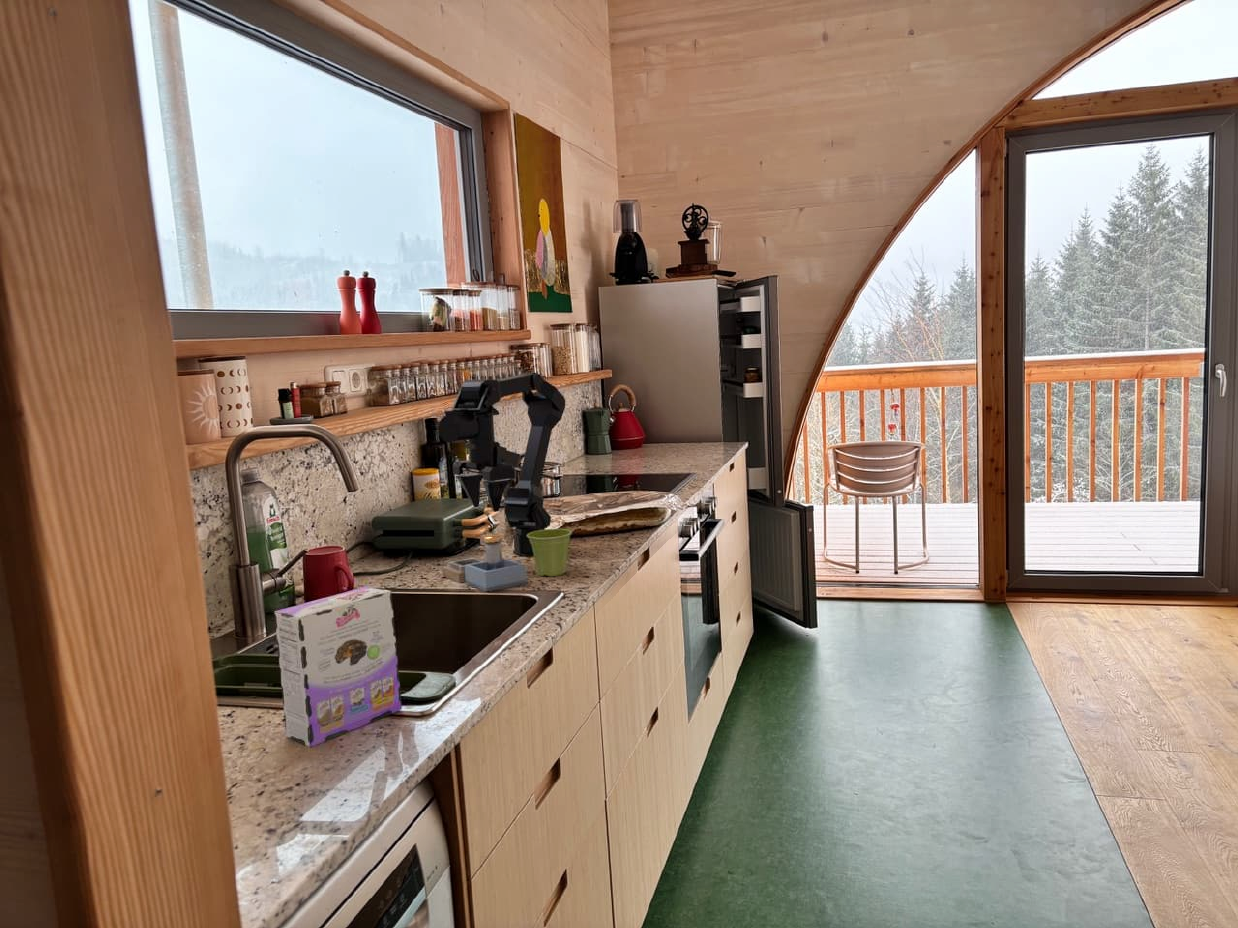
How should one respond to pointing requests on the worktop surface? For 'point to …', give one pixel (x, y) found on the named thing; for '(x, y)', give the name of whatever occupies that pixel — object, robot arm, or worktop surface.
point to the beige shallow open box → (458, 569)
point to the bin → (495, 575)
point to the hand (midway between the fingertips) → (486, 509)
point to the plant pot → (550, 550)
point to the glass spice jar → (493, 551)
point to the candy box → (337, 664)
